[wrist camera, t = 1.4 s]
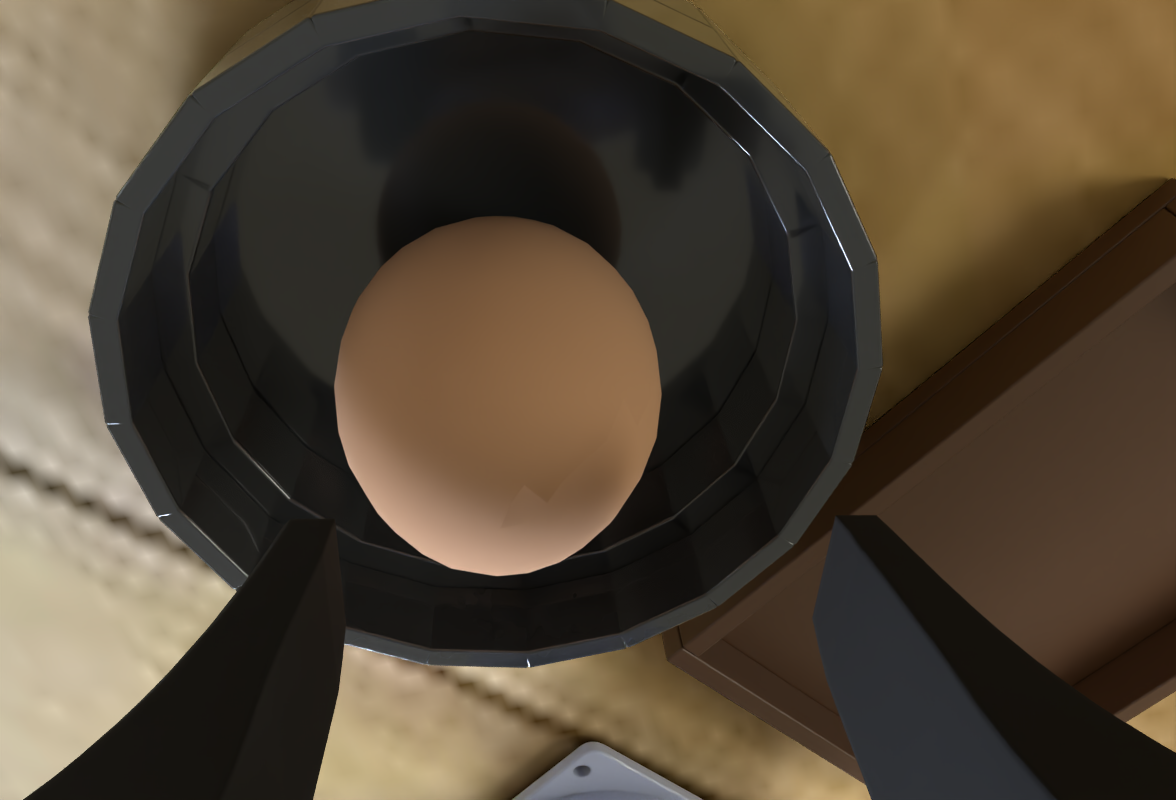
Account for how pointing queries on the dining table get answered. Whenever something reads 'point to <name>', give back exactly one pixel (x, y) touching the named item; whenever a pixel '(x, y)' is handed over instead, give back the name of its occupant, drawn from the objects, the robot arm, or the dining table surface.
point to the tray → (1006, 499)
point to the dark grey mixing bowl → (460, 192)
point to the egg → (497, 394)
